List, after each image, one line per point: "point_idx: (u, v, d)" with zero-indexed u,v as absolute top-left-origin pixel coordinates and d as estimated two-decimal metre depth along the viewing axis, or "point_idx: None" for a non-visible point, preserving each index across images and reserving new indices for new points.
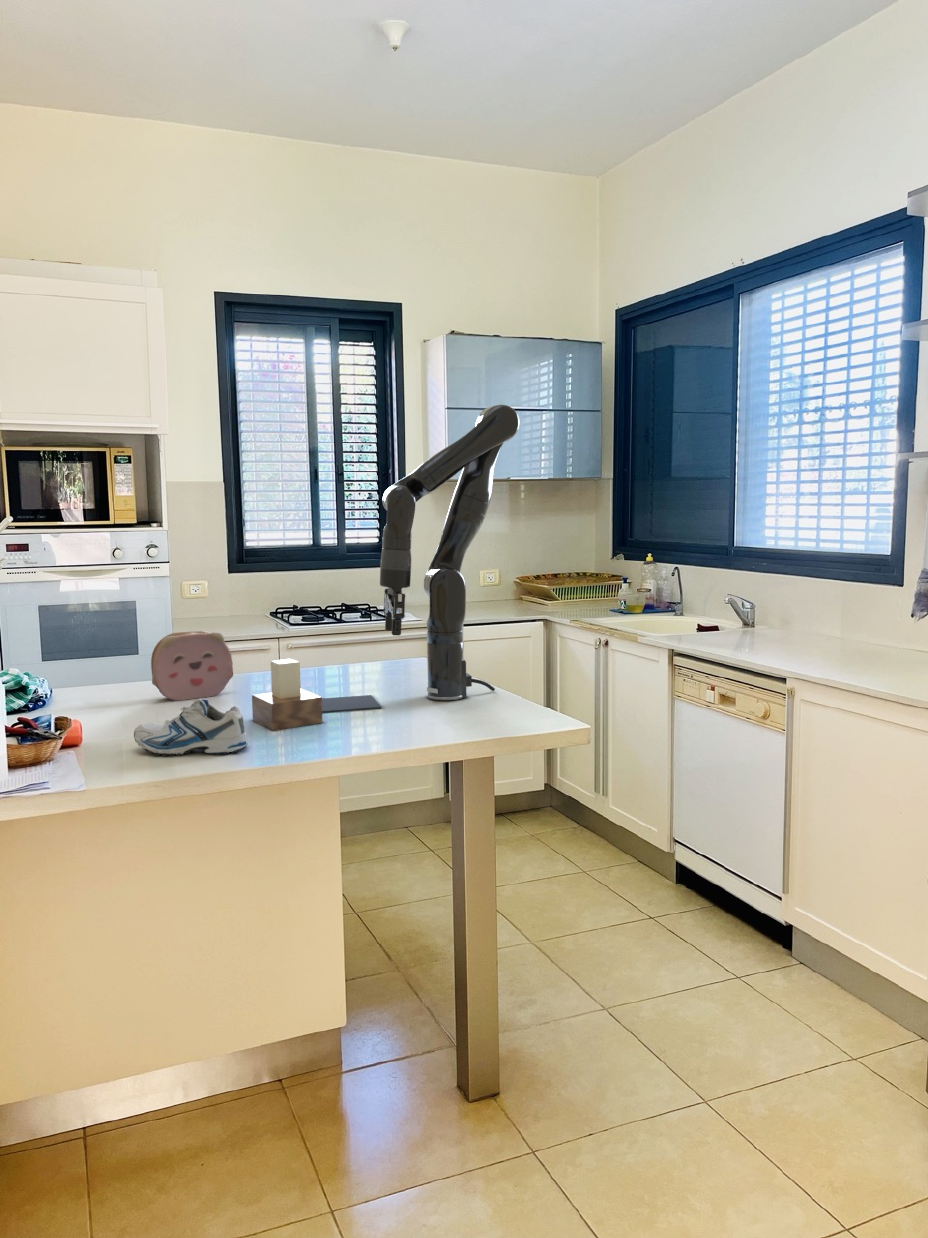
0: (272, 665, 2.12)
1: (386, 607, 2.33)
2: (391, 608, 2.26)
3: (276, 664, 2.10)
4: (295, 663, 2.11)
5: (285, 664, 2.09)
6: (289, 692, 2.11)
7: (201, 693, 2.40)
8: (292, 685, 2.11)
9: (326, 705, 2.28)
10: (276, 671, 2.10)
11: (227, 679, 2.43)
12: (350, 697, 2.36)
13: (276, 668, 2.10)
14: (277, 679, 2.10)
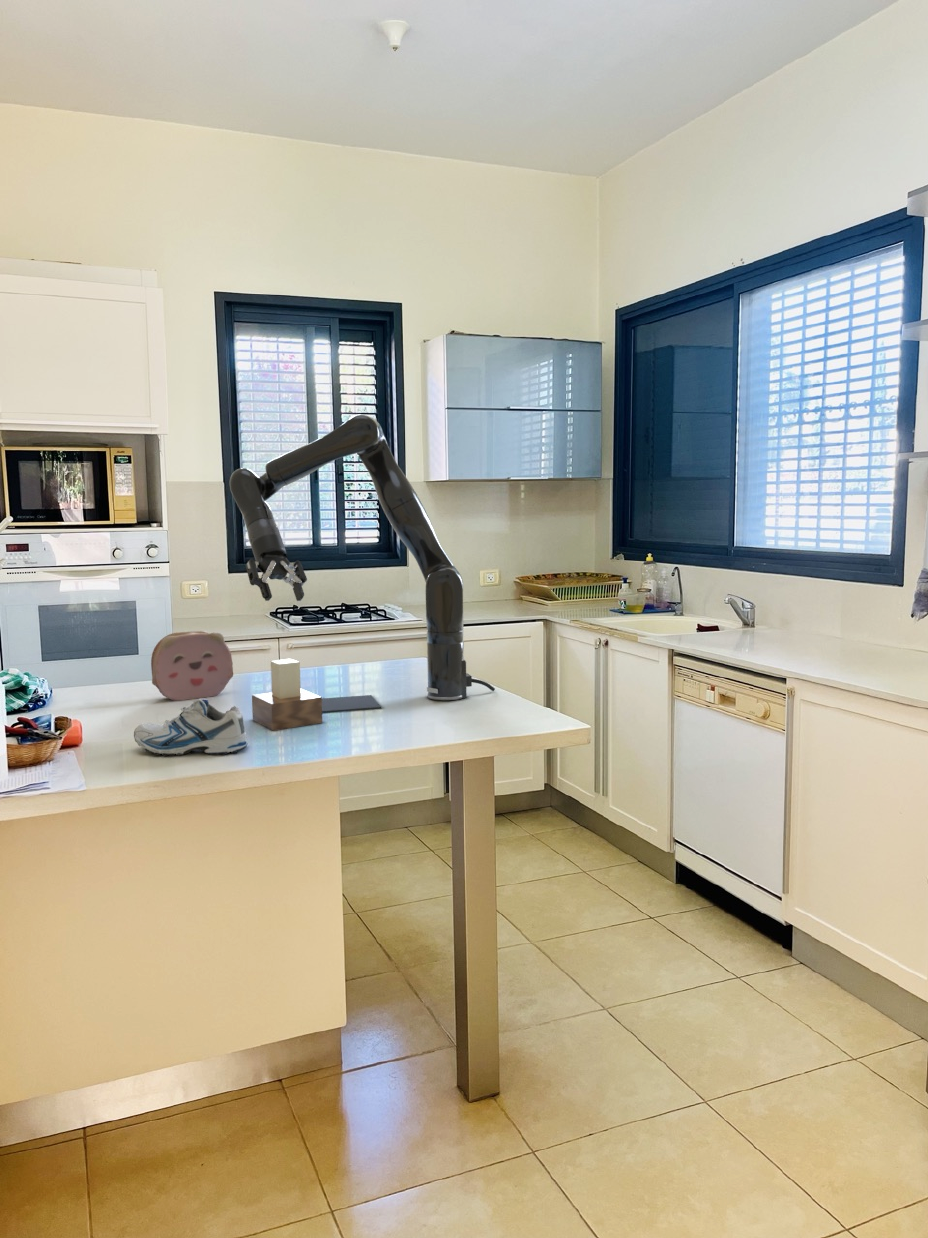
0: (272, 665, 2.12)
1: (285, 580, 2.24)
2: None
3: (276, 664, 2.10)
4: (295, 663, 2.11)
5: (285, 664, 2.09)
6: (289, 692, 2.11)
7: (201, 693, 2.40)
8: (292, 685, 2.11)
9: (326, 705, 2.28)
10: (276, 671, 2.10)
11: (227, 679, 2.43)
12: (350, 697, 2.36)
13: (276, 668, 2.10)
14: (277, 679, 2.10)
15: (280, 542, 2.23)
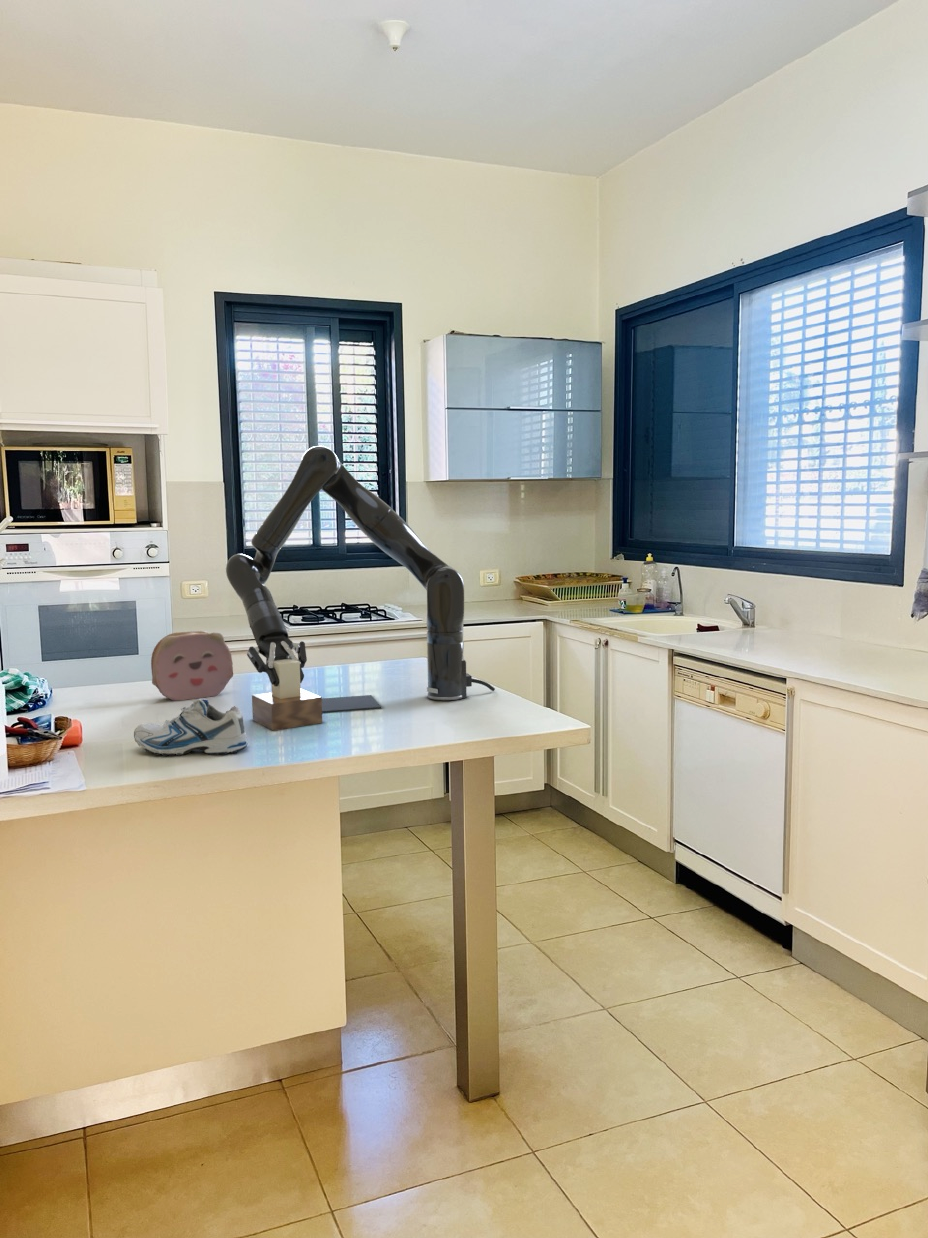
0: None
1: None
2: None
3: (275, 664, 2.10)
4: (295, 663, 2.11)
5: (285, 664, 2.09)
6: (289, 692, 2.11)
7: (201, 693, 2.40)
8: (292, 685, 2.11)
9: (326, 705, 2.28)
10: (276, 671, 2.10)
11: (227, 679, 2.43)
12: (350, 697, 2.36)
13: (276, 668, 2.10)
14: None
15: (279, 622, 2.16)
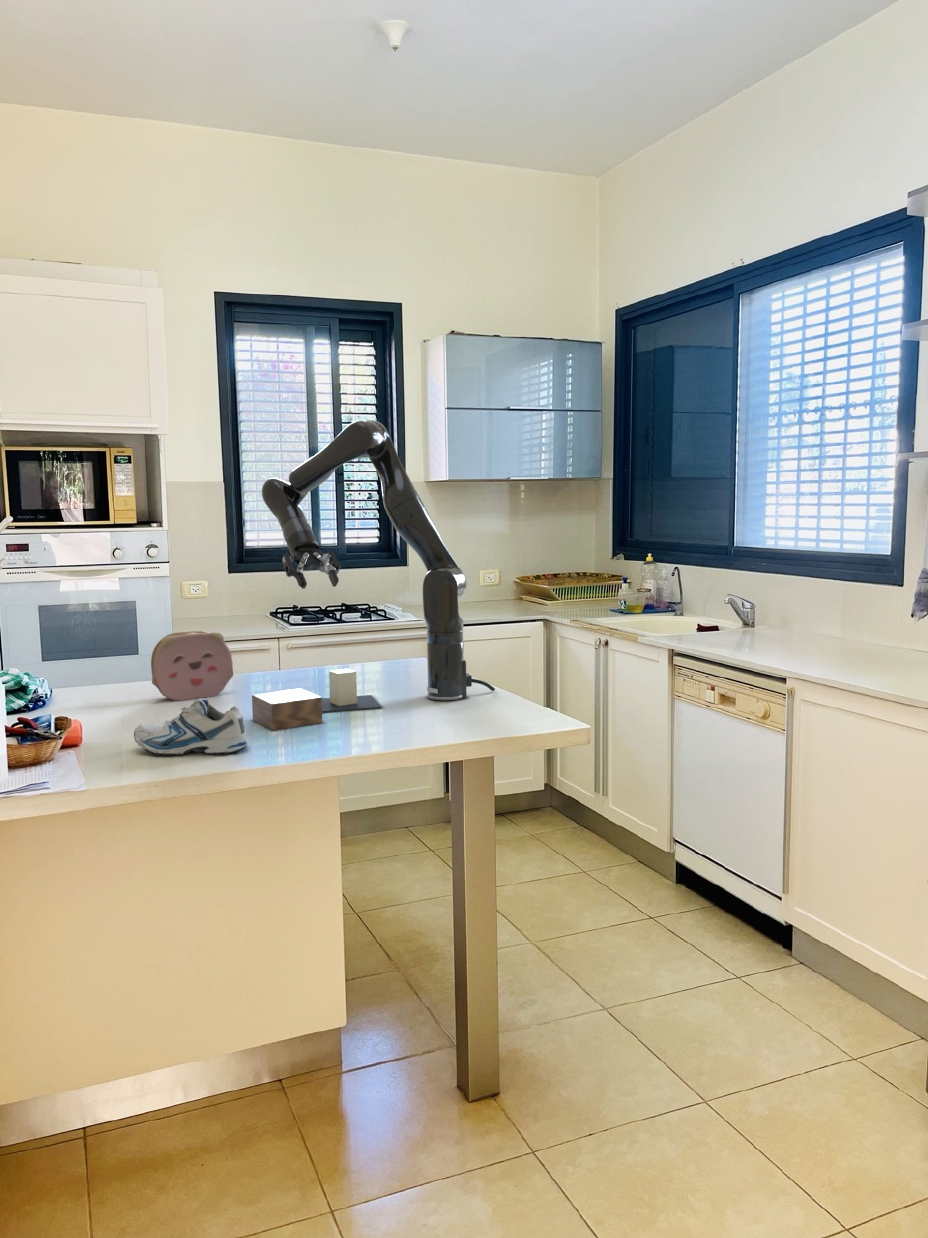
0: (330, 674, 2.29)
1: (321, 570, 2.41)
2: None
3: (334, 674, 2.27)
4: (352, 673, 2.28)
5: (343, 674, 2.27)
6: (347, 699, 2.28)
7: (201, 693, 2.40)
8: (350, 693, 2.28)
9: (326, 705, 2.28)
10: (334, 680, 2.27)
11: (227, 679, 2.43)
12: None
13: (334, 677, 2.27)
14: (336, 688, 2.27)
15: (311, 536, 2.41)
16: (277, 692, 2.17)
